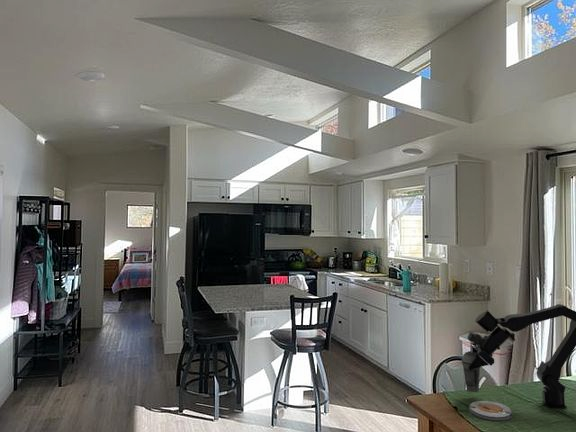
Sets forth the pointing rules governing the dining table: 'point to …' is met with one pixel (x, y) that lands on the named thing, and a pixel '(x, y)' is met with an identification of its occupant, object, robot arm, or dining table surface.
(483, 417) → the base
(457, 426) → the dining table surface
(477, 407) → the disc
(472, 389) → the beverage cup
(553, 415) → the dining table surface
